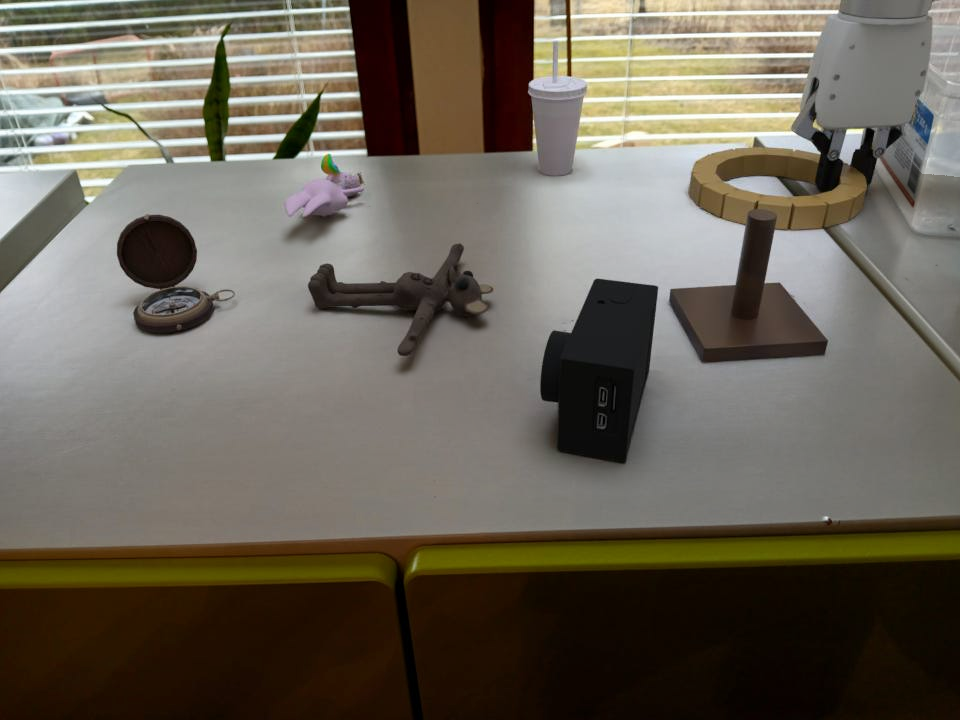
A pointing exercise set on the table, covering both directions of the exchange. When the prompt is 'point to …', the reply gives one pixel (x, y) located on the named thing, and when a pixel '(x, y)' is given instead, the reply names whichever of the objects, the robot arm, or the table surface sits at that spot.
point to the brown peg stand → (747, 308)
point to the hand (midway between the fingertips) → (840, 190)
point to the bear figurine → (406, 294)
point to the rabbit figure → (325, 192)
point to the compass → (163, 273)
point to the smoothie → (556, 118)
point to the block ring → (789, 210)
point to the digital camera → (601, 369)
